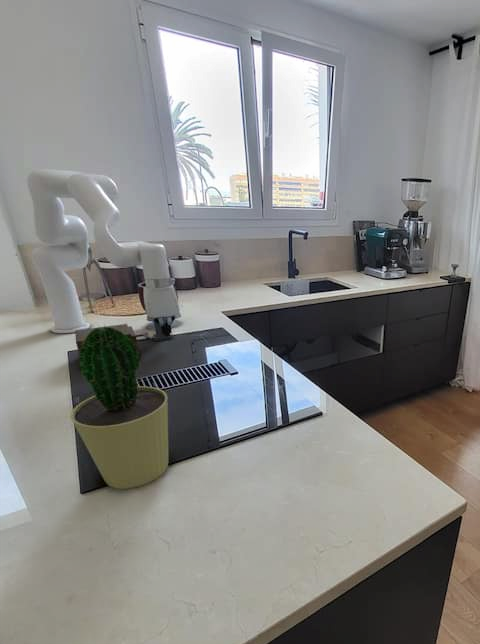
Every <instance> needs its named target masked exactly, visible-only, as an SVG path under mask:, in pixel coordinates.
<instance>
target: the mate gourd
mask: <svg viewBox="0 0 480 644" xmlns="http://www.w3.org/2000/svg"><path fill="white" fill-rule="evenodd" d="M171 285H173V287H174V289H175V292H176V296H177V300H178V301H179V296H178V291H177V287H176V285H175V282H173V283H172V284H171ZM137 286H138V298H139V302H140V305H141V307H142V309H143V311H144V312H146V310H145V303H144V287H146V284H145V281H143V282H141V283H139V284H138V285H137ZM165 321H166V317H165ZM180 325H181V322H180V321H179V320H178V319H175V320H174V321H173V322H172V323H171V329H174V328H177V327H179V326H180ZM146 326H147V328H148V329H150V330H154V325H153V322H152V321H149V322H148V323H147V324H146Z"/></svg>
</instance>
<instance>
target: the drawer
mask: <svg viewBox="0 0 480 644" xmlns="http://www.w3.org/2000/svg"><path fill="white" fill-rule="evenodd" d="M128 328H129V330H130V332H131V335H132V340H133V343H134V344H135V345H136V347H137V350H138V351H137V352H139V353H138V356H139V357H138V358H141V356H140V355H141V352H140V348H139V342H144V341H146V342H151V341H152V340H151V337H150V335H149V334H148V332H143V333H141V334H136V333H135V331H134V329H133V327H132V325H131V326H128ZM139 337H143V338H139ZM136 341H137V342H138V343H137V342H136ZM137 344H138V345H137Z"/></svg>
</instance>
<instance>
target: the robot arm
mask: <svg viewBox="0 0 480 644" xmlns="http://www.w3.org/2000/svg"><path fill="white" fill-rule="evenodd" d="M26 184H27V189H28V192H29V194H30V197H31V200H32V212H33V222H34V223H33V225H34V231H35V235H36V238H37V239H38V240H39V241H40V242H41V243H43V244H47V245H41V246H37V247H36V248H34V249H33V250H32V251H31V254H30V257H31V261H32V263H33V265H34V267H35V269H36V272H37V273H38V275H39V277H40V281H41V283H42V286H43V289H44V292H45V295H46V300H47V302H48V306H49V310H50V312H51V316H52V319H53V323H54V325H53V326H51V328H50V330H51V332H52V333H55V334H70V333H71V334H72V333H75V330H82V329H90V327H91V323H90V322H89V321H85V318H84V315H83V311H82V307H81V303H80V300H79V296H78V292H77V288H76V285H75V282H74V281H73V279H72V278H71V277H70V276H69V275H68V274H67V273H66V272H68V271H74V270H80V269H83V267H85V268H86V265H87V263H88V244H89V232H88V228H87V226H86V224H85V222H84V221H83V220H82V219H81V218H80V217H79V216H76V215H71V214H68V215H67V214H66V215H65V206H64V203H63V202H62V199H74V200H75V201H76V202H77V203H78V205H79V206H80V207H81V208H82V210H83V211H84V212H85V213H86V215H87V216H88V217H89V219H90V220H91V221H92V222H93V224H94V225H93V237H94V241H95V244H96V246H97V248H98V250H99V251H100V253H102V255H103V256H104V257H105V258H106V260H107V261H108V262H109V263H111V265H113V266H114V267H116V268H121V269H124V268H131V267H137V266H141V267H142V273H143V275H144V276H143V279H144V282H145V284H146V287H144V303H145V310H146V311H145V310H144V311H145V314H146V321H147V322H156V323H158V324H159V325H160V326H161V331H162V334H164V335H165V337H167V336H170V335H171V334H172V332H173V331H172V328H171V323H172V322H173V321H174V320H178V319H179V318H181V317H182V315H181V311H180V310H181V309H180V305H179V299H178V300H177V296H176V292H175V289H174V287H173V285H171V284H172V283H173V282H174V283H176V279H175V278H174V277H171V275H170V270H169V263H168V257H167V256H168V255H167V251H166V247H165V246H164V245H163V244H161V243H150V242H147V241H142V240H139V241H126V242H117V241H116V240H115V238H114V237H113V236H112V234H111V233H110V231H109V229H110V228H111V227H113V226H114V225H116V224H117V223H118V221H119V220H120V218H121V211H120V210H119V209H118V207H117V206H116V205H115V204H114V203H113V202H116V200H117V199H118V197H119V189H118V186H117V185H116V183H115V182H114V181H113V180H112V179H111V178H110V177H109V176H107V175H105V174H97V173H92V172H84V171H75V170H63V169H53V168H52V169H51V168H50V169H49V168H37V169H33V170H31V171H30V172H29V173H28V175H27V177H26ZM48 244H49V245H48ZM162 317H166V323H164V322H163V320H162Z"/></svg>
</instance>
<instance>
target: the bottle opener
mask: <svg viewBox="0 0 480 644" xmlns="http://www.w3.org/2000/svg"><path fill="white" fill-rule="evenodd" d="M162 320H163V322H164V323H166V321H165V317H162ZM153 325H154V329H153V330H154V334H152V338H153V340H154V341H155V342H159V341H165V340H172V339H173V338H172V335H171V334H170V336H167V337H165V335H164V334H162V331H161V326H160V325H159V324H158V323H156V322H153Z"/></svg>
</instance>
